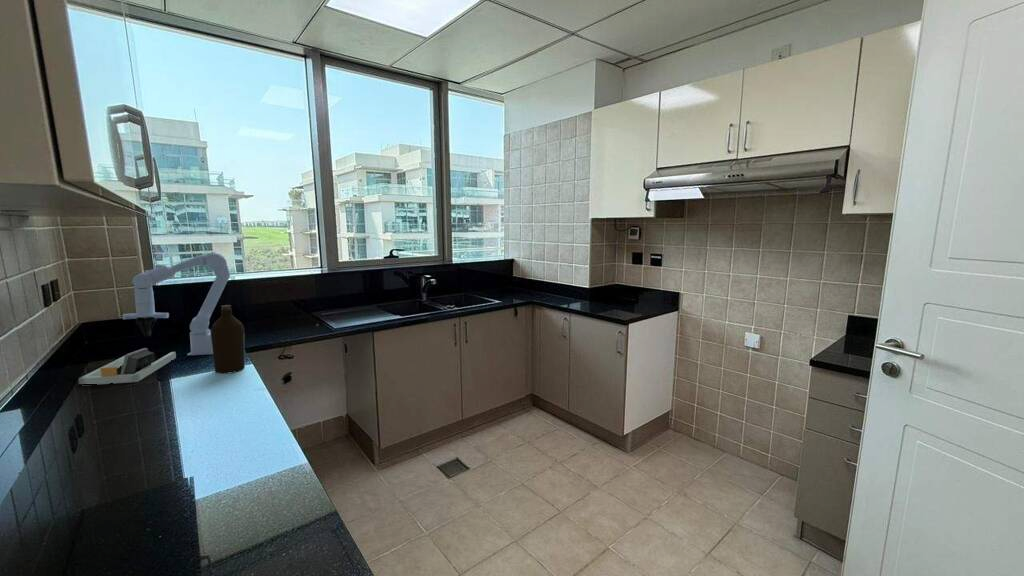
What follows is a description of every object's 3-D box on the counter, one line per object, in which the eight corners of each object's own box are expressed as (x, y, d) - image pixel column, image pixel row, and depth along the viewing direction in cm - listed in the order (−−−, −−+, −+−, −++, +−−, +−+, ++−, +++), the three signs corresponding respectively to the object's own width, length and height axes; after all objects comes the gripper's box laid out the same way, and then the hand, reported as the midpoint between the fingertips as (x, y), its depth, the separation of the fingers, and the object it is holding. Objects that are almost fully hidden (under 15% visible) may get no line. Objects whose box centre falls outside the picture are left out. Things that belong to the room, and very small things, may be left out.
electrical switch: (140, 370, 156) (140, 347, 155) (155, 372, 156) (155, 348, 155) (119, 379, 146) (119, 354, 145) (135, 381, 147) (135, 355, 146)
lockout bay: (175, 357, 172) (174, 344, 171) (137, 381, 145) (136, 366, 144) (128, 360, 167) (127, 347, 166) (79, 385, 140) (77, 369, 139)
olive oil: (223, 376, 153) (219, 309, 150) (207, 371, 158) (202, 306, 154) (252, 368, 162) (249, 305, 159) (236, 363, 167) (232, 302, 164)
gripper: (171, 301, 174) (173, 332, 175) (128, 301, 169) (130, 334, 171) (163, 303, 167) (165, 336, 169) (118, 304, 162) (121, 338, 164)
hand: (147, 335), depth 169 cm, fingers closed
